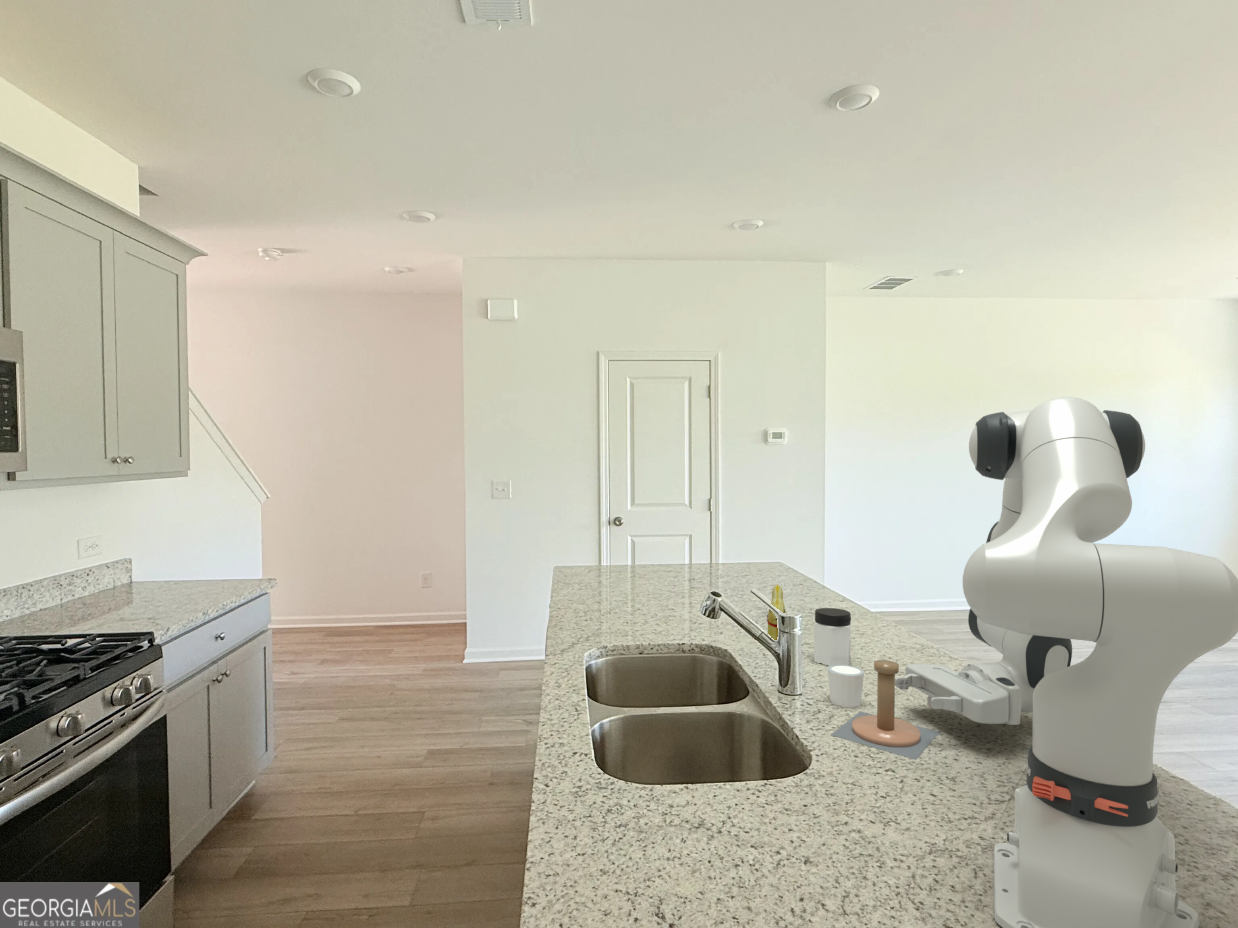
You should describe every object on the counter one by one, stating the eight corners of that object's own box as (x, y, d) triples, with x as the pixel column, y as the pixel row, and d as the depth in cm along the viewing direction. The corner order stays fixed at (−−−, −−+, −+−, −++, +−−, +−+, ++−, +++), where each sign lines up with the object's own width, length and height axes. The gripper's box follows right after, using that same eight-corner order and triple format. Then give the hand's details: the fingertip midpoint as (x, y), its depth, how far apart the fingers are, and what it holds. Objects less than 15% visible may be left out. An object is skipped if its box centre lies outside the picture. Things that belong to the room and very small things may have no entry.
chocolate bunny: (766, 646, 168) (766, 588, 168) (767, 635, 179) (767, 580, 179) (793, 649, 166) (794, 590, 166) (793, 637, 177) (793, 582, 177)
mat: (915, 762, 104) (915, 759, 104) (830, 738, 113) (830, 734, 113) (939, 735, 115) (939, 731, 115) (860, 714, 124) (860, 711, 124)
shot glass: (866, 712, 125) (867, 676, 125) (829, 709, 126) (829, 673, 126) (861, 699, 131) (861, 665, 131) (825, 697, 133) (825, 662, 133)
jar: (849, 669, 150) (849, 617, 150) (812, 664, 154) (812, 613, 154) (851, 658, 159) (852, 609, 159) (816, 654, 162) (817, 606, 162)
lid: (908, 753, 106) (909, 678, 106) (842, 734, 113) (843, 664, 113) (928, 731, 115) (929, 662, 115) (865, 715, 122) (865, 650, 122)
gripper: (945, 654, 127) (879, 656, 125) (1027, 690, 107) (951, 694, 105) (945, 686, 127) (879, 689, 125) (1027, 729, 107) (950, 734, 105)
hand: (912, 692), depth 115 cm, fingers open, 8 cm apart
